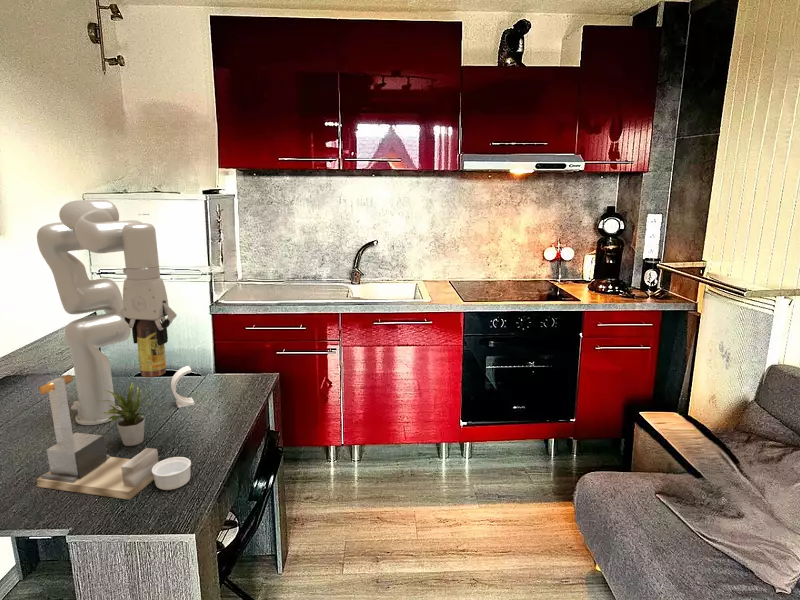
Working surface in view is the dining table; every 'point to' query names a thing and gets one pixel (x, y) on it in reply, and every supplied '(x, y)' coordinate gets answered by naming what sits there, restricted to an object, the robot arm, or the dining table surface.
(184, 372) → the white curved arc piece
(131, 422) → the house plant
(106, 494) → the clamp base
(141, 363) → the sauce bottle
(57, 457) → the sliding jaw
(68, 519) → the dining table surface
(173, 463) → the ramekin
